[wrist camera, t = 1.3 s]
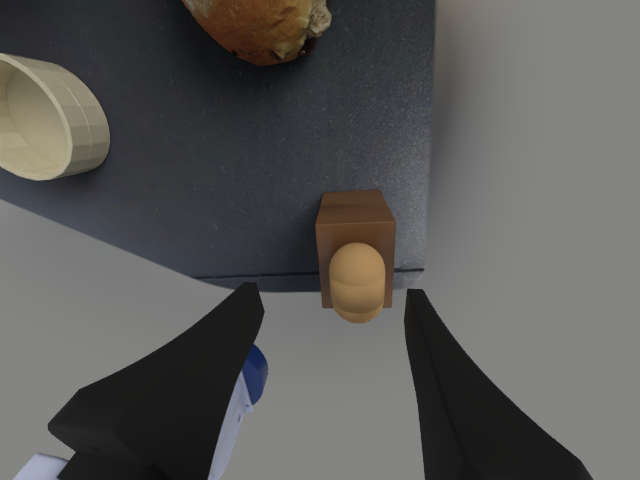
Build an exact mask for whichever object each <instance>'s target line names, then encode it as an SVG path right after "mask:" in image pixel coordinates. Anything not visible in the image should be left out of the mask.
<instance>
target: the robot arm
mask: <svg viewBox="0 0 640 480" xmlns="http://www.w3.org/2000/svg"><path fill="white" fill-rule="evenodd" d="M264 312H265V311H264V308H263V304H262V301H261V298H260V295H259V291H258V288H257V284H256V283H251V282H244V283H243V284H242V285H241V286H240V287H238V288H237V289H236V290H235V291H234V292H233V293H232V294H230V295H229V296H228V297H227V298H226V299H225V300H224V301H222V302H221V303H220V304H219V305H218V306H217V307H215V308H214V309H213V310H212V311H211V312H209V313H208V314H207V315H206V316H204V317H203V318H202V319H201V320H199V321H198V322H197V323H196V324H194V325H193V326H192V327H190V328H189V329H188V330H186V331H185V332H184V333H182V334H181V335H179V336H178V337H176V338H175V339H173V340H172V341H170V342H169V343H167V344H166V345H164V346H162V347H161V348H159V349H157V350H156V351H154V352H152V353H151V354H149V355H148V356H146V357H144V358H142V359H140V360H139V361H137V362H135V363H133V364H131V365H129V366H127V367H126V368H124V369H122V370H120V371H118V372H116V373H114V374H112V375H110V376H108V377H105V378H103V379H101V380H99V381H97V382H95V383H92V384H90V385H88V386H86V387H83V388H81V389H79V390H78V391H77V392H76V394H75V395H74V396H73V397H72V398H71V399H70V400H69V401H68V402H67V404H66V405H65V406H64V407H63V408H62V409H61V410H60V411H59V412H58V413H57V414H56V415H55V416H54V418H53V419H52V420H51V421H50V422H49V423H48V430H49V431H50V433H51V434H52V435H54V436H55V437H56V438H57V439H59V440H60V441H62V442H63V443H64V444H66V445H67V446H69V447H70V448H71V449H73V450H74V451H76V453H75V454H74V455H73V457H72V458H71V459H70V461H68V460H66V459H64V458H60V457H56V456H51V455H46V454H42V453H37V454H35V455H34V456H33V457H32V458H31V459H30V461H28V463H27V464H26V465H25V466H24V467H23V468H22V469H21V471H20V472H19V473H18V474H17V475H16V476H15V477H14V479H13V480H218V479H219V478H220V477H221V475H222V474H223V472H224V471H225V469H226V467H227V464H228V462H229V459H230V456H231V453H232V450H233V447H234V443H235V440H236V438H237V435H238V432H239V428H240V426H241V423H242V419H243V416H244V413H251V412H252V411H253V406H252V403H251V399H250V396H249V392H248V389H247V385H246V382H245V379H244V375H243V372H242V368H243V366H244V363H245V361H246V359H247V357H248V354H249V352H250V350H251V348H252V346H253V343H254V341H255V339H256V336H257V334H258V332H259V329H260V326H261V323H262V319H263V315H264ZM404 325H405V338H406V345H407V350H408V356H409V361H410V365H411V371H412V376H413V381H414V386H415V391H416V397H417V403H418V412H419V422H420V431H421V441H422V451H423V462H424V473H425V480H593V478H592V477H591V476H590V474H589V473H588V471H587V470H586V468H585V466H584V465H583V463H582V462H581V461H580V460H579V459H578V458H577V457H576V456H574V455H573V454H572V453H571V452H570V451H568V450H567V449H566V448H565V447H563V446H562V445H561V444H560V443H559V442H557V441H556V440H555V439H554V438H552V437H551V436H550V435H549V434H547V433H546V432H545V431H544V430H543V429H542V428H540V427H539V426H538V425H537V424H536V423H535V422H534V421H532V419H530V418H529V417H528V416H527V415H526V414H525V413H524V412H522V411H521V410H520V409H519V408H518V407H517V406H516V405H515V404H514V403H513V402H512V401H511V400H510V399H509V398H508V397H507V396H506V395H505V394H504V393H503V392H502V391H501V390H500V389H499V388H498V387H497V386H496V385H495V384H494V383H493V382H492V381H491V380H490V379H489V378H488V377H487V376H486V375H485V374H484V373H483V372H482V371H481V370H480V369H479V367H478V366H477V365H476V364H475V363H474V362H473V361H472V359H471V358H470V357H469V356H468V355H467V354H466V352H465V351H464V350H463V349H462V347H461V346H460V345H459V344H458V342H457V341H456V340H455V338H454V337H453V336H452V334H451V333H450V332H449V330H448V329H447V327H446V326H445V324H444V323H443V322H442V320H441V319H440V317H439V316H438V314H437V313H436V311H435V309H434V308H433V306H432V305H431V303H430V301H429V300H428V298H427V296H426V294H425V292H424V291H423V290H422V289H407V297H406V307H405V317H404Z"/></svg>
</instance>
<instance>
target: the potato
mask: <svg viewBox="0 0 640 480" xmlns="http://www.w3.org/2000/svg"><path fill="white" fill-rule="evenodd" d="M329 277H330V291H331V300H332V304H333V307H334V309H335V311H336V312H337V313H338V314H339V315H340V316H341V317H342V318H343V319H345V320H347V321H349V322H352V323H365V322H368V321H370V320H372V319H373V318H375V317H376V316H377V315H378V314H379V312H380V311H381V309H382V307H383V304H384V296H385V265H384V262H383V259H382V257H381V256H380V254H379V253H378V252H377V251H376V250H375V249H374V248H373V247H371V246H369V245H367V244H363V243H350V244H347V245H344V246H343V247H341V248H340V249H338V250H337V251H336V253H335V254H334V255H333V257H332V259H331V262H330V266H329Z"/></svg>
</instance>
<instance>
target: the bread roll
mask: <svg viewBox="0 0 640 480" xmlns="http://www.w3.org/2000/svg"><path fill="white" fill-rule="evenodd" d="M182 2H183V3H184V5H185V6H186V8H187V9H188V10H190V12H191V14H192V15H193V16H194V18H195V19H196V20H197V22H198V23H199V25H200V26H201V27H202V28H203V29H204V30H205V31H206V32H207V33H208V34H209V35H210V36H211V37H212V38H213V39H214V40H215V41H216V42H218V43H219V44H220V45H221V46H222V47H224V48H225V49H226V50H228V51H229V52H230V53H232V54H233V55H235V56H237V57H239V58H241V59H244V60H246V61H248V62H250V63H252V64H254V65H259V66H264V65H273V64H278V63H283V62H288V61H291V60H293V59H295V58H296V57H299V56H306V55H310V54H312V53H313V50H314V49H315V47H316V37H319V36H321V35H322V33H323V31H325V30H327V28H328V27H329V26H330V21H331V18H332V14H331V13H330V10H331V2H330V0H182Z"/></svg>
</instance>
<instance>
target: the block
mask: <svg viewBox="0 0 640 480" xmlns="http://www.w3.org/2000/svg"><path fill="white" fill-rule="evenodd" d="M395 228H396V221H395V219H394V217H393V215H392V213H391V211H390V209H389V207H388V205H387V203H386V201H385V199H384V197H383V195H382V193H381V191H380V190H361V191H343V192H325V193H323V197H322V200H321V204H320V208H319V212H318V216H317V220H316V224H315V230H316V241H317V252H318V263H319V274H320V285H321V294H322V295H321V296H322V306H323V308H334V307H333V304H332V300H331V291H330V277H329V266H330V262H331V259H332V257H333V255H334V254H335V253H336V251H337V250H338V249H340V248H341V247H343V246H344V245H347V244H350V243H363V244H367V245H369V246H371V247H373V248H374V249H375V250H376V251H377V252H378V253H379V254H380V256H381V257H382V259H383V262H384V265H385V296H384V304H383V307H382V308H390V307H392V290H393V269H394V248H395Z"/></svg>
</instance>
